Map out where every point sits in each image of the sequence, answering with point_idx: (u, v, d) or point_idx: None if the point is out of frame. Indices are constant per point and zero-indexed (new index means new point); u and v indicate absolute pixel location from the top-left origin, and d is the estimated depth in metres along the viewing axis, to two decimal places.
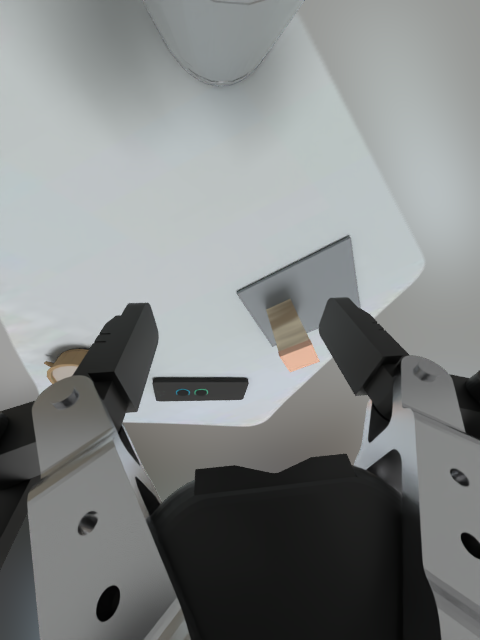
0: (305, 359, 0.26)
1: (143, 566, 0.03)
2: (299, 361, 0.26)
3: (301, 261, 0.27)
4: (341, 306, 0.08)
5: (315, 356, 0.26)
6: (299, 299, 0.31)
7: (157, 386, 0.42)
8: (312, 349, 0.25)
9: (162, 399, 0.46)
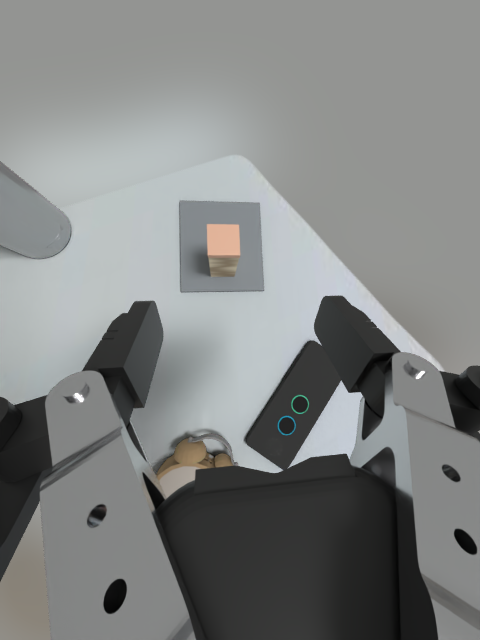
0: (228, 236, 0.26)
1: (150, 562, 0.03)
2: (226, 241, 0.26)
3: (180, 235, 0.35)
4: (335, 304, 0.08)
5: (227, 226, 0.26)
6: None
7: (256, 444, 0.32)
8: (214, 225, 0.26)
9: (287, 462, 0.32)
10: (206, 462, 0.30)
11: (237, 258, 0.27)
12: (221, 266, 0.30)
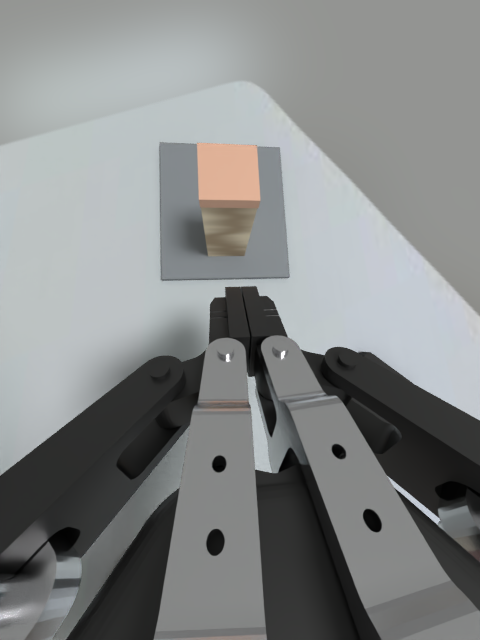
0: (238, 166, 0.14)
1: (245, 543, 0.03)
2: (234, 175, 0.14)
3: (160, 194, 0.23)
4: (243, 294, 0.09)
5: (236, 147, 0.14)
6: None
7: None
8: (211, 146, 0.14)
9: None
10: None
11: (254, 210, 0.15)
12: (224, 231, 0.18)
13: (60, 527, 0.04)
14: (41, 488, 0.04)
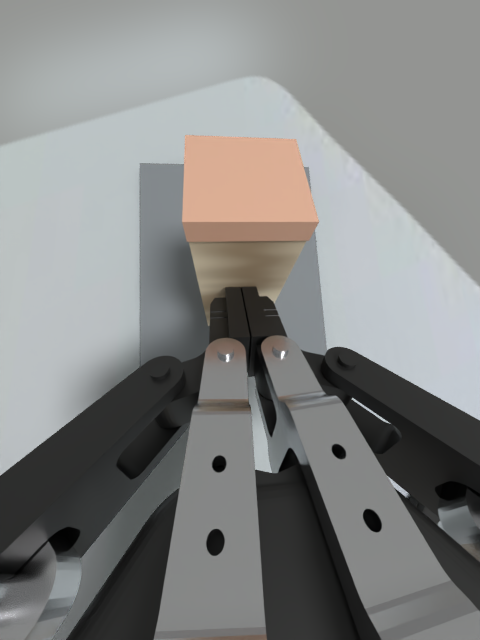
0: (264, 168, 0.07)
1: (245, 543, 0.03)
2: (257, 181, 0.07)
3: None
4: (243, 294, 0.09)
5: (258, 141, 0.08)
6: None
7: None
8: (212, 139, 0.07)
9: None
10: None
11: (298, 246, 0.07)
12: None
13: (60, 527, 0.04)
14: (41, 488, 0.04)
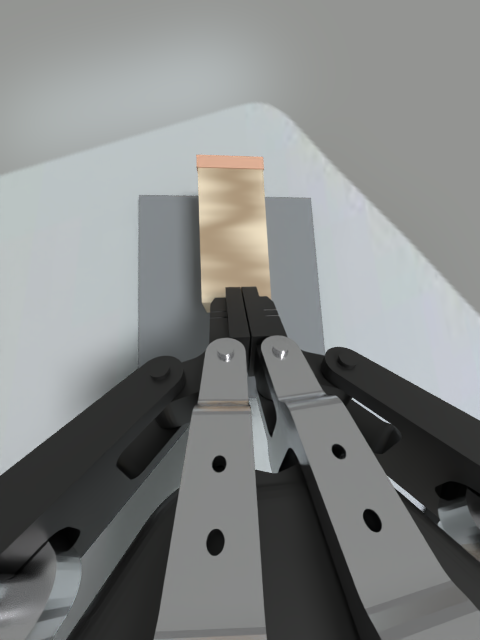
0: None
1: (245, 543, 0.03)
2: None
3: None
4: (243, 294, 0.09)
5: None
6: None
7: None
8: None
9: None
10: None
11: (259, 173, 0.13)
12: (228, 217, 0.12)
13: (60, 527, 0.04)
14: (41, 488, 0.04)
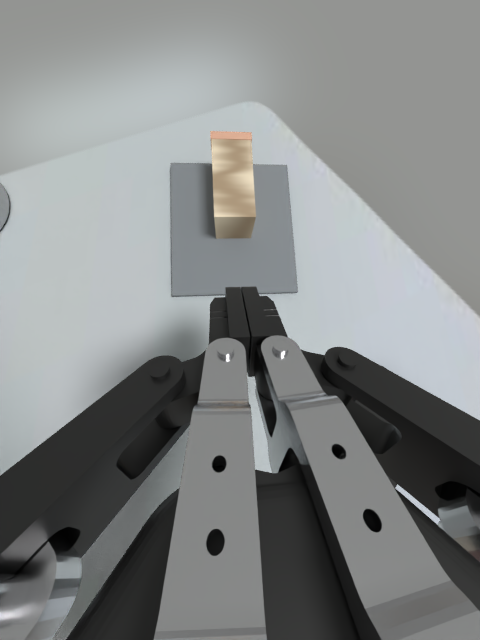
0: None
1: (245, 543, 0.03)
2: None
3: None
4: (243, 294, 0.09)
5: None
6: None
7: None
8: None
9: None
10: None
11: (249, 142, 0.21)
12: (230, 168, 0.20)
13: (60, 527, 0.04)
14: (41, 488, 0.04)
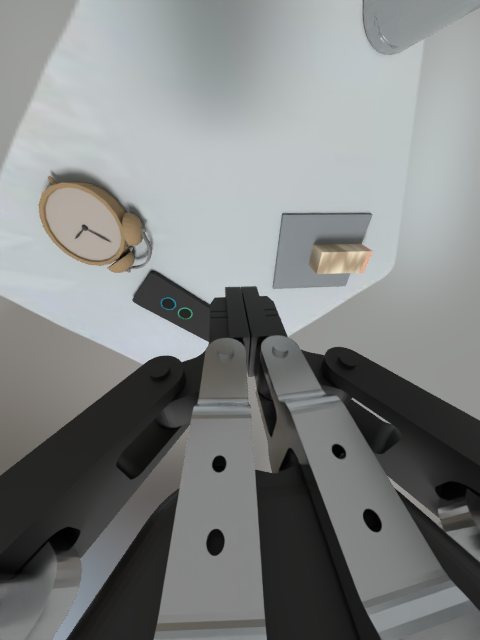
0: None
1: (245, 543, 0.03)
2: None
3: (337, 214, 0.35)
4: (243, 294, 0.09)
5: None
6: None
7: (151, 281, 0.38)
8: None
9: (139, 302, 0.41)
10: (125, 246, 0.33)
11: (358, 271, 0.38)
12: (347, 261, 0.36)
13: (60, 527, 0.04)
14: (41, 488, 0.04)
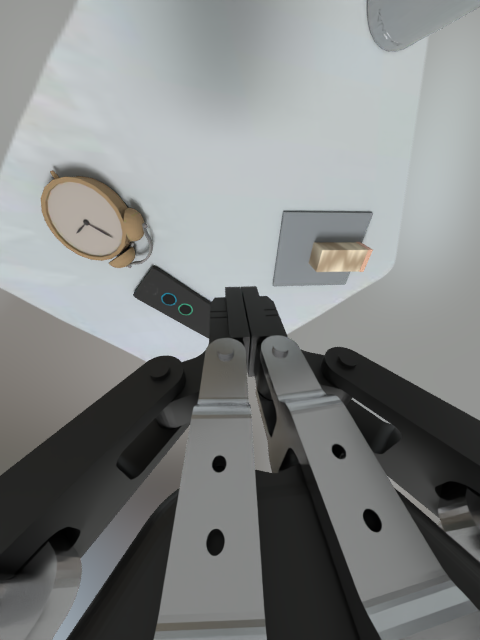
0: None
1: (245, 543, 0.03)
2: None
3: (338, 212, 0.35)
4: (243, 294, 0.09)
5: None
6: None
7: (152, 276, 0.38)
8: None
9: (140, 297, 0.41)
10: (126, 241, 0.33)
11: (358, 270, 0.38)
12: (347, 259, 0.36)
13: (60, 527, 0.04)
14: (41, 488, 0.04)
